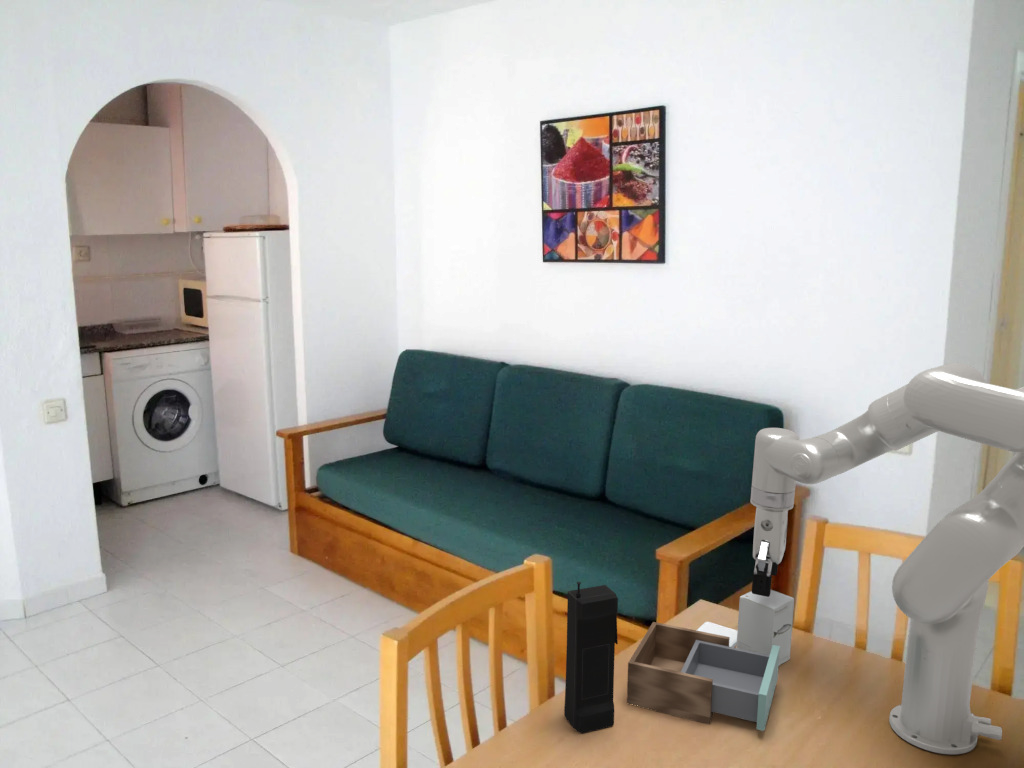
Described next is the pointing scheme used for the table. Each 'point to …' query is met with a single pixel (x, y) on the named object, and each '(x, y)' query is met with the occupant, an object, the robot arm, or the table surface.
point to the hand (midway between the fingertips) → (764, 583)
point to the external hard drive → (720, 632)
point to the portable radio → (590, 658)
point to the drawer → (736, 679)
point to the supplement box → (765, 623)
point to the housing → (670, 673)
